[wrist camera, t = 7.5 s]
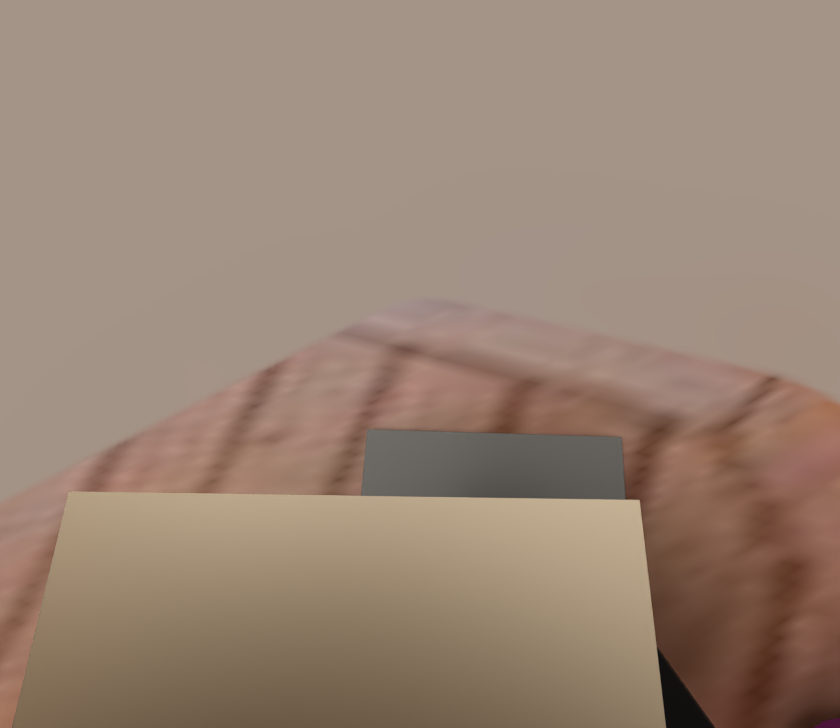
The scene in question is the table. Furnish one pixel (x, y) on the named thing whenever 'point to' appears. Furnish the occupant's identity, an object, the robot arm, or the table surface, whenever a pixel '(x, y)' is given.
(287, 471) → the table surface
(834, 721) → the beverage can
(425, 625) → the birch block
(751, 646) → the table surface
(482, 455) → the charcoal board
